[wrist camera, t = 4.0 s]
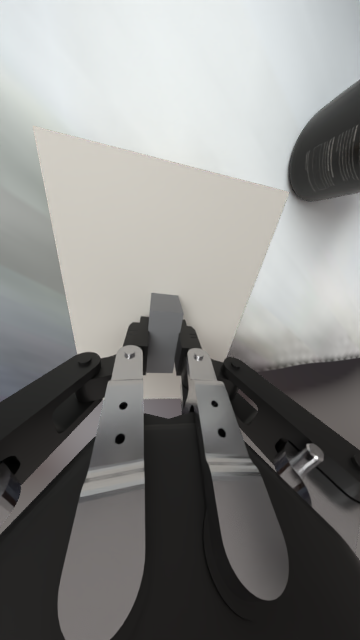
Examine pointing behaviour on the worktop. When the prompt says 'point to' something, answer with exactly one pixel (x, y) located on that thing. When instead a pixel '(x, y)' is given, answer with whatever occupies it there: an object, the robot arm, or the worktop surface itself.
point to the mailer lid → (153, 249)
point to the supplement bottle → (329, 150)
